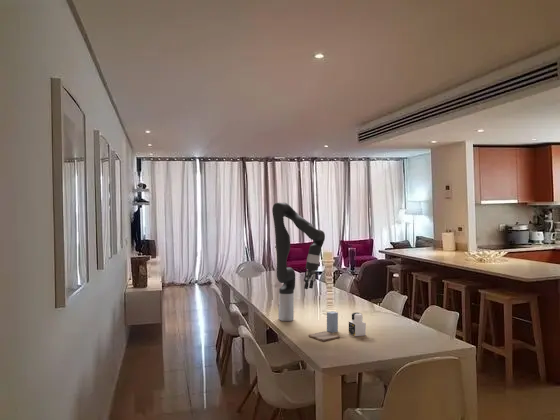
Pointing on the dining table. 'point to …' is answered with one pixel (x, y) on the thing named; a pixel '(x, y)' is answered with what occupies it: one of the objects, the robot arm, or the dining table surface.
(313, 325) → the dining table surface
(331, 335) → the board
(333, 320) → the block
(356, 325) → the medicine bottle
